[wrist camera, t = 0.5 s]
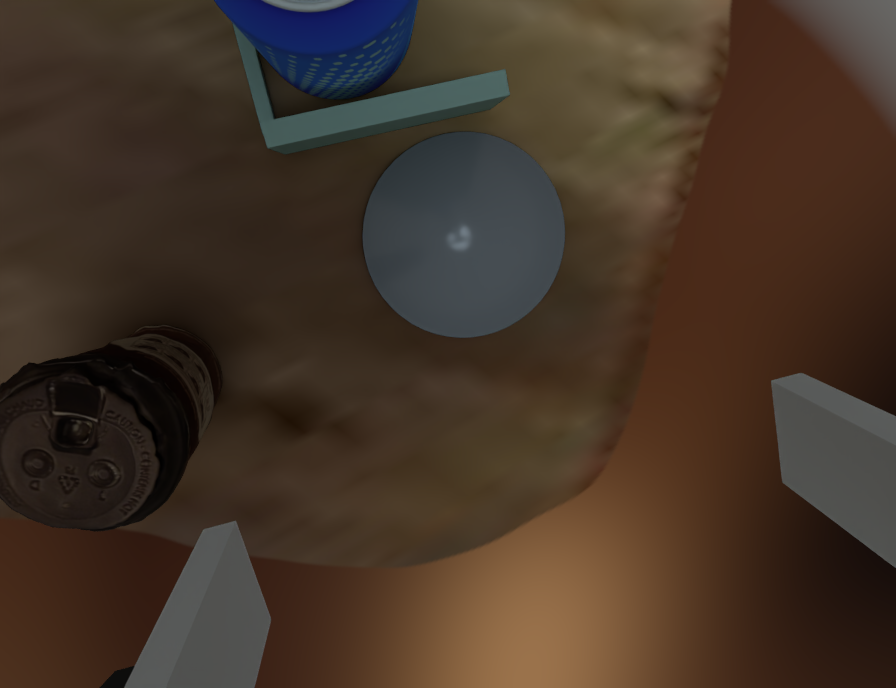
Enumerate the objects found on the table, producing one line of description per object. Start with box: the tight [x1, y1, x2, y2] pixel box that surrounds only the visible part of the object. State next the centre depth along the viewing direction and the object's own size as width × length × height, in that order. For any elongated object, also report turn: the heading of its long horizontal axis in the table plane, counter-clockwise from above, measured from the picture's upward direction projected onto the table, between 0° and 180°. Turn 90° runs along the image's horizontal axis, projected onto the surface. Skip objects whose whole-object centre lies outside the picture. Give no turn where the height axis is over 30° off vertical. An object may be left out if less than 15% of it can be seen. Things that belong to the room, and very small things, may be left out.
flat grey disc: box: [363, 132, 565, 338], centre depth 39 cm, size 12×12×1 cm
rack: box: [232, 22, 510, 154], centre depth 33 cm, size 12×13×6 cm
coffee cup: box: [0, 325, 222, 531], centre depth 33 cm, size 9×8×13 cm
